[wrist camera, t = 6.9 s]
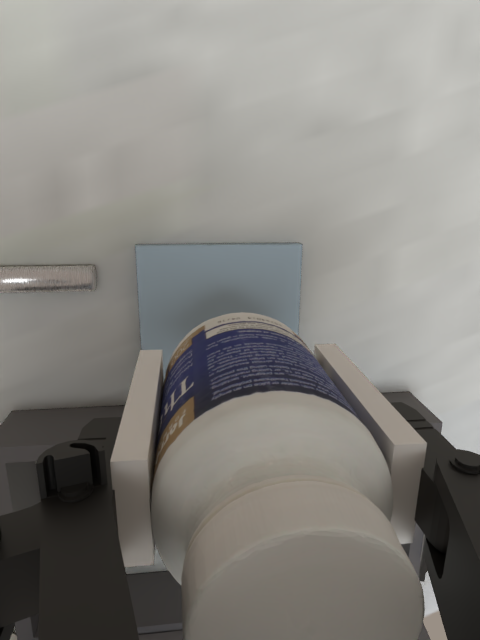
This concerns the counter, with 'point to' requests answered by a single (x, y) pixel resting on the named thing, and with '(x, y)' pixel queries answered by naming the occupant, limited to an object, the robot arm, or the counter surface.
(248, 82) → the counter surface
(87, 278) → the rod
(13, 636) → the white cup
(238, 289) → the mat
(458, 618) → the robot arm
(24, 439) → the case
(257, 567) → the pill bottle
